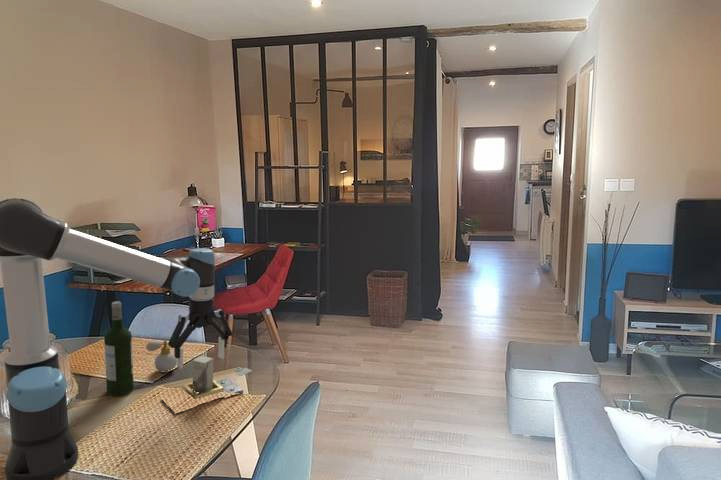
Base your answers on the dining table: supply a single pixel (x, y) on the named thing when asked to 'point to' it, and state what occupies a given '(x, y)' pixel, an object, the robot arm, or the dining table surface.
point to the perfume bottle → (162, 356)
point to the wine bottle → (118, 355)
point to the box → (202, 374)
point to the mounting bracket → (242, 371)
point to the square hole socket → (214, 388)
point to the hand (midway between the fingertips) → (201, 362)
